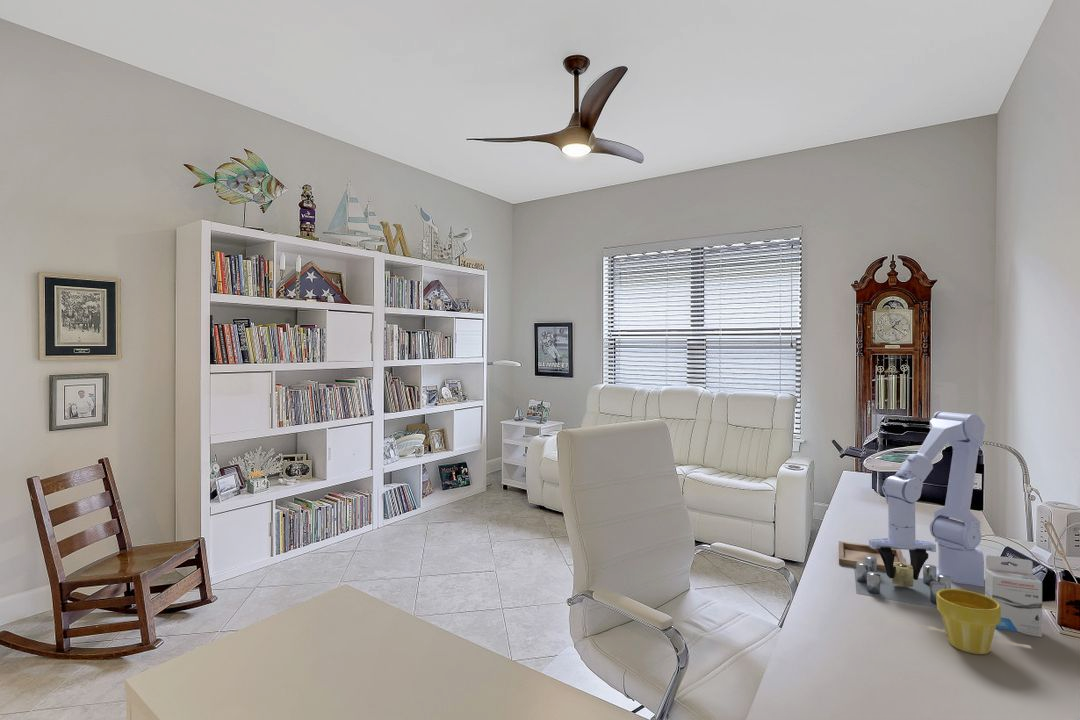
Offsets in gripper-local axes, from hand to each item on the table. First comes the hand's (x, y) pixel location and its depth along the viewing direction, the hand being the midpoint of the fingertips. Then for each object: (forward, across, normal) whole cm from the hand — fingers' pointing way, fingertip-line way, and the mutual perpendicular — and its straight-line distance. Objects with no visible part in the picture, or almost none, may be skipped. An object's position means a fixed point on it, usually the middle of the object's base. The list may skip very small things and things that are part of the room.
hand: (902, 577), depth 137 cm
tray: (+3, 0, -19) cm, 19 cm away
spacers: (+3, 0, 0) cm, 3 cm away
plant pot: (+3, -1, +27) cm, 27 cm away
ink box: (+3, -15, +17) cm, 23 cm away
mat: (+3, 0, 0) cm, 3 cm away
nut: (+1, 0, 0) cm, 1 cm away
